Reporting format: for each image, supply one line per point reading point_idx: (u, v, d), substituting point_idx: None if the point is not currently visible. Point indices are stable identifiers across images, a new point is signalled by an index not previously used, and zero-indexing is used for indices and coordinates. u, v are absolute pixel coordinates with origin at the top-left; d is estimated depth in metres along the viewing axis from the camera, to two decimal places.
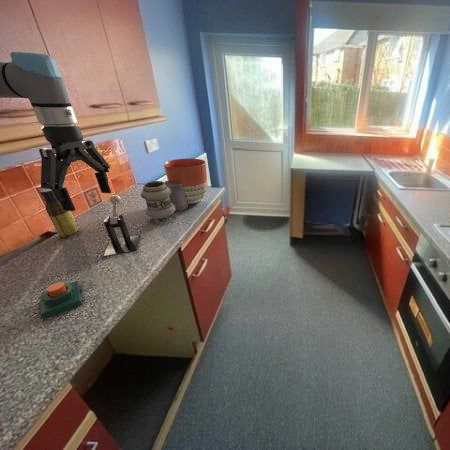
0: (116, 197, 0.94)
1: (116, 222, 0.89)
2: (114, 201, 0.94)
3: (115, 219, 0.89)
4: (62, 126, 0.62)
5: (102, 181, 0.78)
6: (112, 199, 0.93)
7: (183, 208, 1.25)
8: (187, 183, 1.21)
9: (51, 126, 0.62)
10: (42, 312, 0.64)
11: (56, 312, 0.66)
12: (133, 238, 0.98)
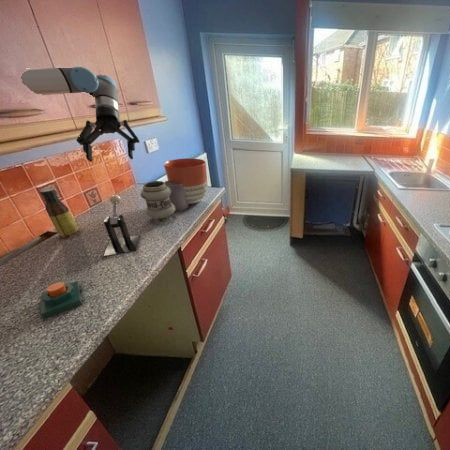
0: (116, 197, 0.94)
1: (116, 222, 0.89)
2: (114, 201, 0.94)
3: (115, 219, 0.89)
4: None
5: (90, 151, 0.95)
6: (112, 199, 0.93)
7: (183, 208, 1.25)
8: (187, 183, 1.21)
9: None
10: (42, 312, 0.64)
11: (56, 312, 0.66)
12: (133, 238, 0.98)
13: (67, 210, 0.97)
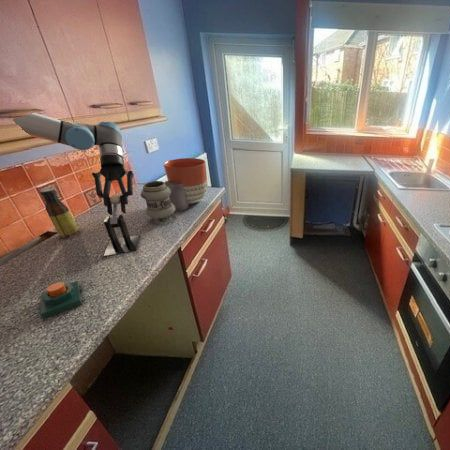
0: (116, 197, 0.94)
1: (116, 222, 0.89)
2: (114, 201, 0.94)
3: (115, 219, 0.89)
4: None
5: (110, 204, 0.95)
6: (112, 199, 0.93)
7: (184, 208, 1.25)
8: (187, 183, 1.22)
9: (121, 159, 1.01)
10: (42, 312, 0.64)
11: (56, 312, 0.66)
12: (133, 238, 0.98)
13: (67, 210, 0.97)
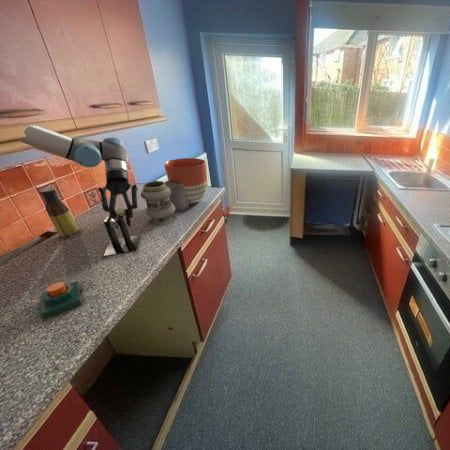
0: (121, 209, 0.98)
1: (116, 220, 0.89)
2: (118, 212, 0.97)
3: (115, 218, 0.90)
4: None
5: None
6: (117, 210, 0.97)
7: (184, 208, 1.25)
8: (188, 183, 1.22)
9: None
10: (42, 312, 0.64)
11: (56, 312, 0.66)
12: (133, 238, 0.98)
13: (67, 210, 0.97)
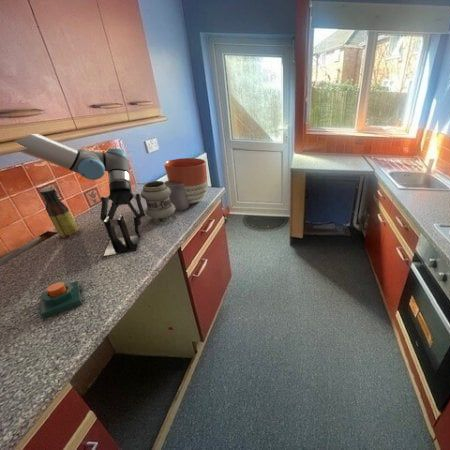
0: (124, 218, 1.00)
1: (116, 219, 0.89)
2: None
3: (116, 219, 0.90)
4: None
5: None
6: None
7: (184, 208, 1.26)
8: (188, 183, 1.22)
9: None
10: (42, 312, 0.64)
11: (56, 312, 0.66)
12: (133, 238, 0.98)
13: (67, 210, 0.97)
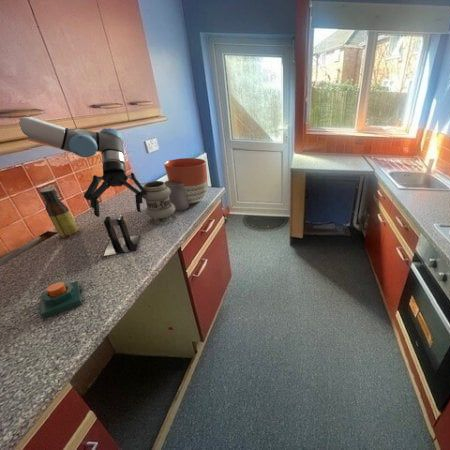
0: (124, 218, 1.00)
1: (116, 219, 0.89)
2: None
3: (116, 219, 0.90)
4: None
5: (97, 206, 0.95)
6: None
7: (184, 208, 1.26)
8: (188, 182, 1.22)
9: None
10: (42, 312, 0.64)
11: (56, 312, 0.66)
12: (133, 238, 0.98)
13: (67, 210, 0.97)
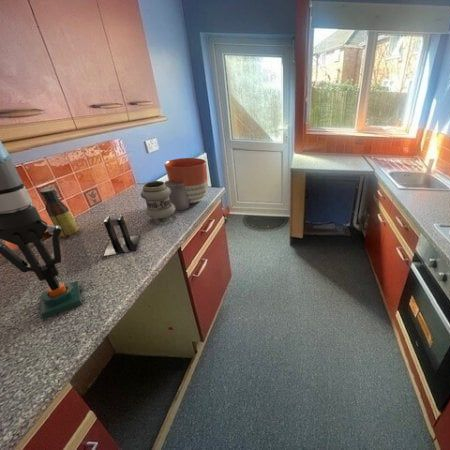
0: (124, 218, 1.00)
1: (116, 219, 0.89)
2: None
3: (116, 219, 0.90)
4: None
5: None
6: None
7: (185, 207, 1.26)
8: (188, 182, 1.22)
9: None
10: (42, 312, 0.64)
11: (56, 312, 0.66)
12: (133, 238, 0.98)
13: (67, 210, 0.97)
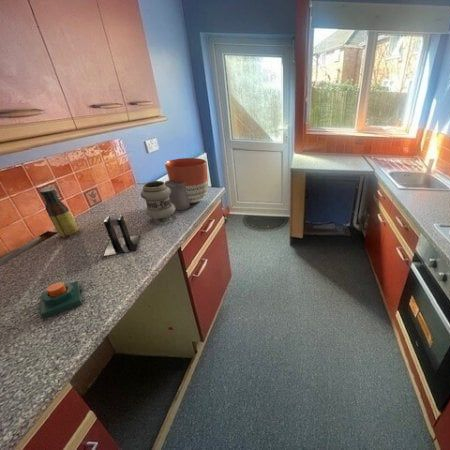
0: (124, 218, 1.00)
1: (116, 219, 0.89)
2: None
3: (116, 219, 0.90)
4: None
5: None
6: None
7: (185, 207, 1.26)
8: (189, 182, 1.22)
9: None
10: (42, 312, 0.64)
11: (56, 312, 0.66)
12: (133, 238, 0.98)
13: (67, 210, 0.97)
